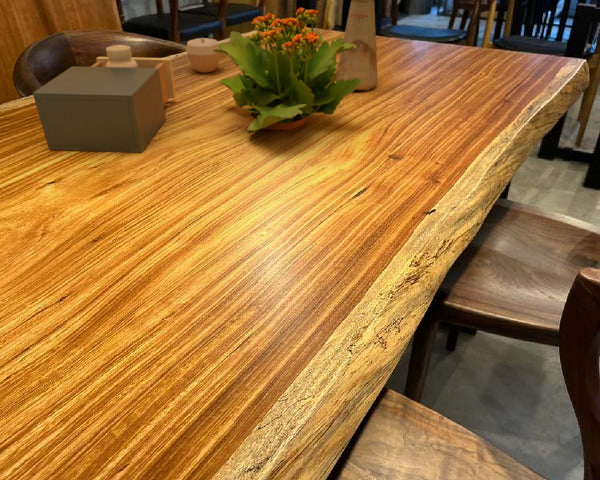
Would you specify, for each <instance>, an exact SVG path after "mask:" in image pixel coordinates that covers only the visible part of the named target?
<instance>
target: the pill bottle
mask: <svg viewBox="0 0 600 480" xmlns="http://www.w3.org/2000/svg"><path fill="white" fill-rule="evenodd" d="M105 51H106V57H108V58H109V59H110V61H108V62H107V64H106V67H123V68H138V65H137V63H136V61H134V60H133V59H131V57H133V55H132V48H131V46H129V45H125V44H116V45H109V46H107V47H106V48H105Z"/></svg>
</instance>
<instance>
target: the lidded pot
mask: <svg viewBox="0 0 600 480" xmlns="http://www.w3.org/2000/svg"><path fill="white" fill-rule="evenodd" d="M219 44H220V42H219V41H218V40H217V39H214V38H207V37H202V38H201V37H199V38H198V37H197V38H194V39H190V40H188V41H187V42H186V48H185V49H186V50H185V51H186V54H187V57H188V61H189V62H190V64H191V67H192V68H193V69H194V70H195V71H196V72H197V73H204V74H205V73H211V72H214V71H215V70H216V69H217V67H218V65H219V64H220V61H221V60H220V59H221V54H222V53H219V52H214V51H213V50H214V49H220V48H219V47H218V45H219Z"/></svg>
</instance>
